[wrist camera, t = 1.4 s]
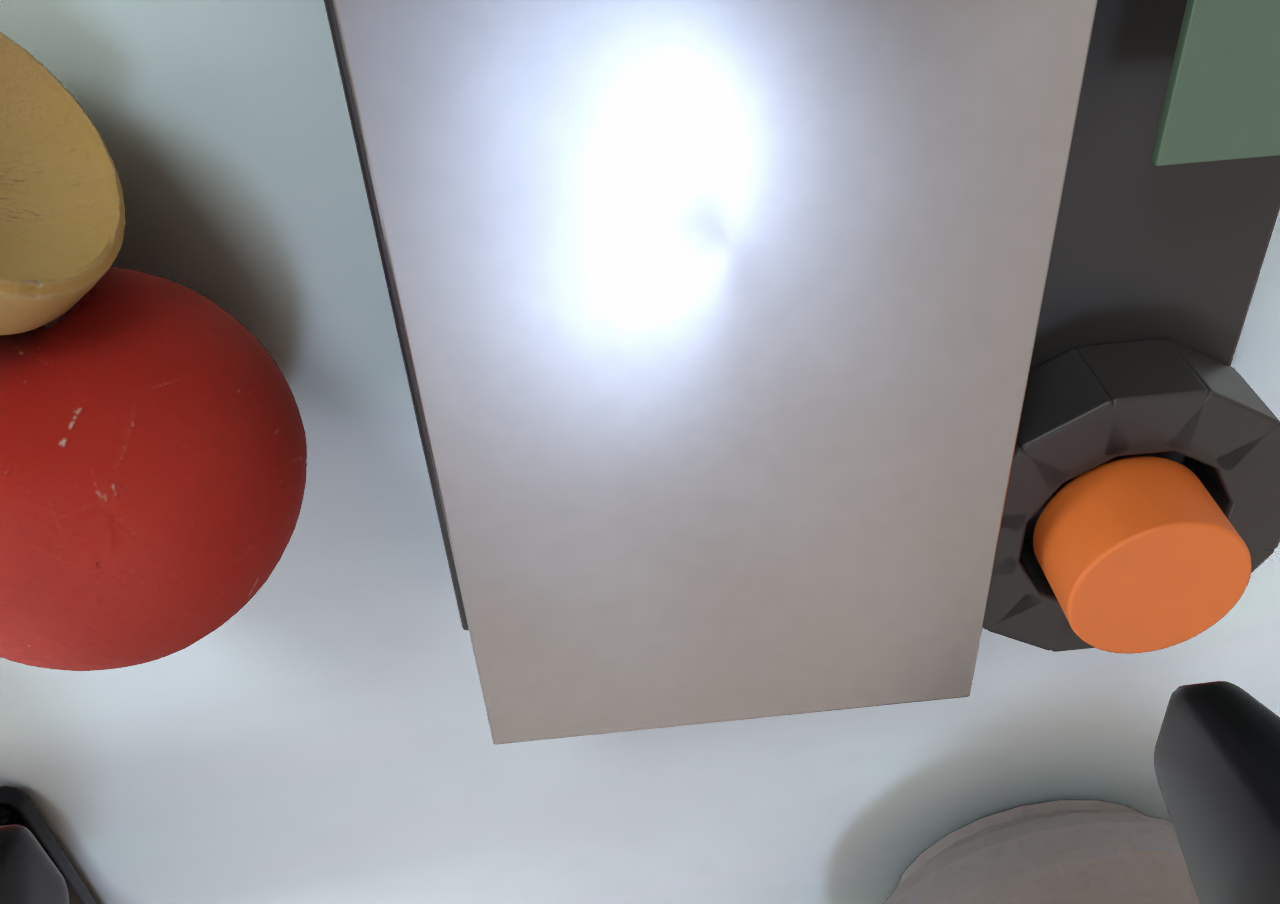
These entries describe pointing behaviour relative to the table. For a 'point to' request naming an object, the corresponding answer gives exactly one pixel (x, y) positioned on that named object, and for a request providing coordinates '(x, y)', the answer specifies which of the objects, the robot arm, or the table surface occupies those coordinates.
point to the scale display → (1223, 84)
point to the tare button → (1140, 555)
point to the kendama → (120, 416)
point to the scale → (1106, 318)
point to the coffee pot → (1053, 859)
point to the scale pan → (718, 332)
